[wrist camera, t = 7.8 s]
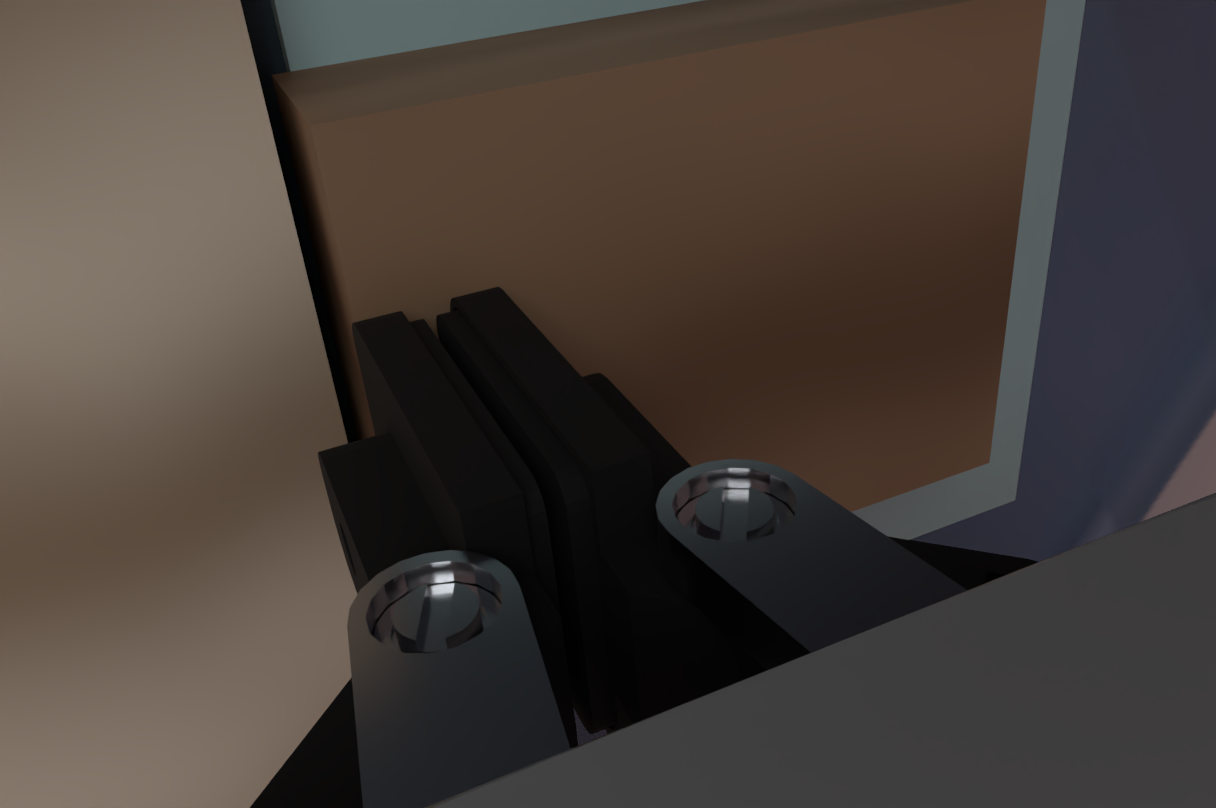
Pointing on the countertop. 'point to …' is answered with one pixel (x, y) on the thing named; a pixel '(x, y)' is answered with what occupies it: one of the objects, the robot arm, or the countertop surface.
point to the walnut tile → (705, 215)
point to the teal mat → (510, 3)
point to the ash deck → (156, 419)
